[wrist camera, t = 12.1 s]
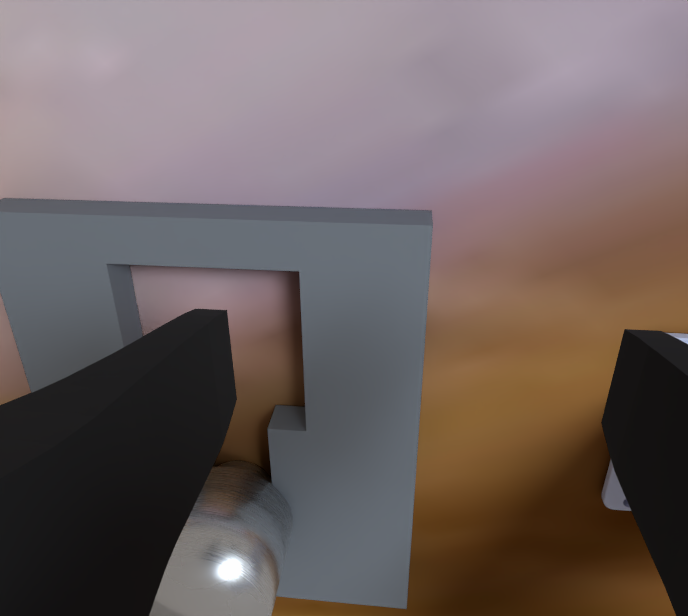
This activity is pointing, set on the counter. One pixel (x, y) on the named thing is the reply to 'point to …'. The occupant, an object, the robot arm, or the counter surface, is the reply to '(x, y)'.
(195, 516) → the headed peg
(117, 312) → the keyhole plate
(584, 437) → the counter surface
